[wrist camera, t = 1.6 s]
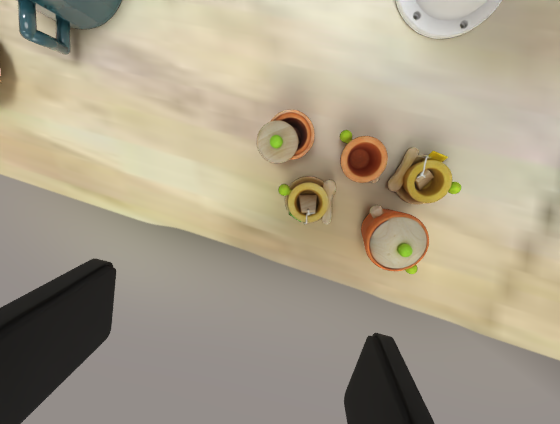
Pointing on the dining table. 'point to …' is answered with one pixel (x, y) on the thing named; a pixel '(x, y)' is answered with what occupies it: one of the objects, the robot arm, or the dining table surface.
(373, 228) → the toy tea set
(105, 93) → the dining table surface
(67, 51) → the mug
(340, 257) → the dining table surface
